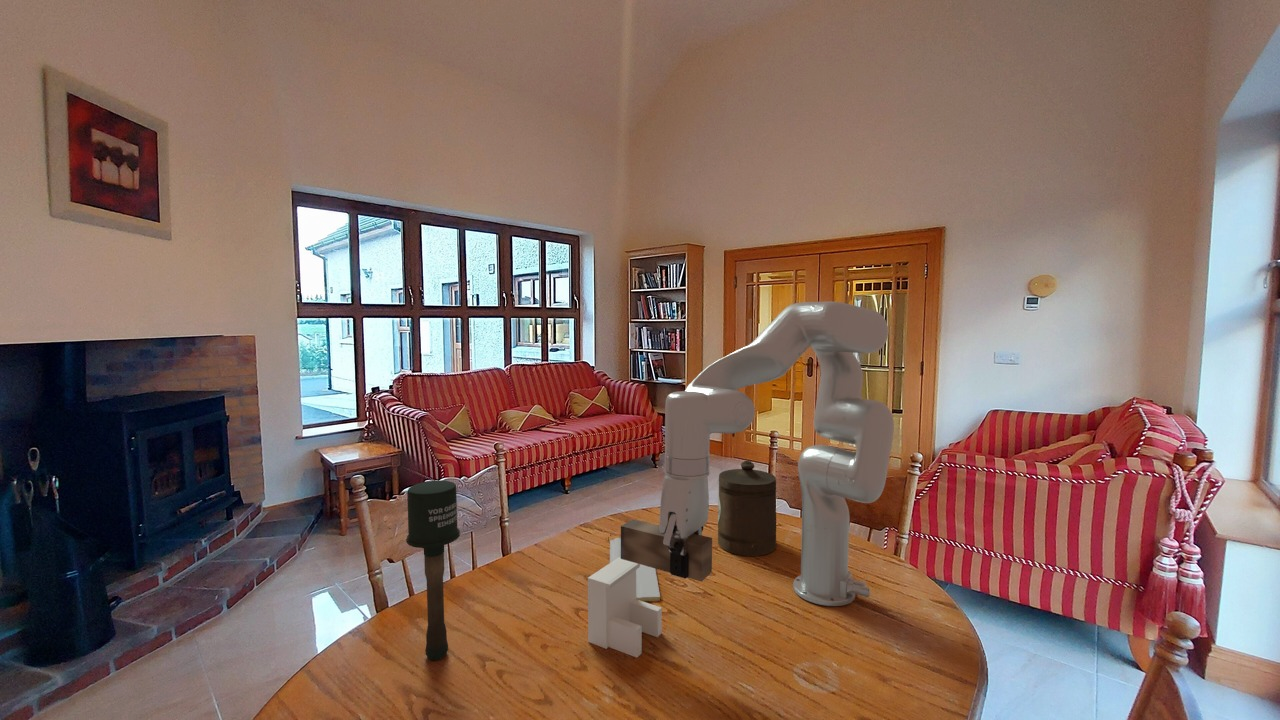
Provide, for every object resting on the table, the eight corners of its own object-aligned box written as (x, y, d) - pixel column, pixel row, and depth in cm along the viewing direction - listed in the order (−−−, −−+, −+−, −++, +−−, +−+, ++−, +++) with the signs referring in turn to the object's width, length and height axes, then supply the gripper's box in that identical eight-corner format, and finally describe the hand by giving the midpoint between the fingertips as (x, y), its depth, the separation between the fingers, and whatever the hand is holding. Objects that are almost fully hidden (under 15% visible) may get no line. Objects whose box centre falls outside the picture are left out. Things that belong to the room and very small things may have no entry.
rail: (711, 572, 92) (712, 537, 92) (701, 581, 89) (702, 546, 88) (632, 550, 100) (632, 519, 100) (620, 558, 97) (620, 526, 97)
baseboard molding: (602, 605, 112) (660, 603, 112) (602, 591, 112) (660, 590, 112) (604, 543, 143) (649, 542, 143) (604, 532, 143) (649, 532, 143)
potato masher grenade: (432, 677, 88) (426, 497, 86) (399, 660, 93) (393, 488, 91) (473, 650, 95) (469, 484, 93) (441, 635, 100) (436, 476, 98)
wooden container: (740, 529, 151) (741, 451, 150) (787, 545, 140) (788, 461, 139) (706, 544, 141) (706, 461, 140) (753, 562, 130) (754, 472, 129)
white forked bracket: (663, 631, 101) (663, 569, 100) (634, 659, 93) (634, 592, 92) (619, 616, 106) (618, 557, 106) (588, 641, 98) (587, 577, 97)
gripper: (689, 452, 100) (688, 548, 101) (642, 473, 86) (641, 584, 87) (727, 457, 96) (725, 558, 97) (684, 480, 82) (682, 597, 83)
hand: (685, 569), depth 92 cm, fingers closed on rail, 4 cm apart
